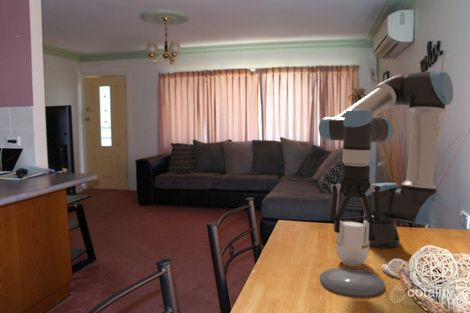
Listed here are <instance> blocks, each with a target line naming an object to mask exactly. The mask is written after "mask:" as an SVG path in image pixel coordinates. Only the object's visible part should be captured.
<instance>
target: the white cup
mask: <svg viewBox="0 0 470 313" xmlns="http://www.w3.org/2000/svg"><path fill="white" fill-rule="evenodd" d="M342 222H343V236H342V245H341V247H342V248H344V249H347V250H352V251H359V250H361V249H362V243H363V238H364V232H365V227H366V225H364V224H363V222H362V223H361V222H358V221H351V220H344V221H342Z"/></svg>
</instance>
